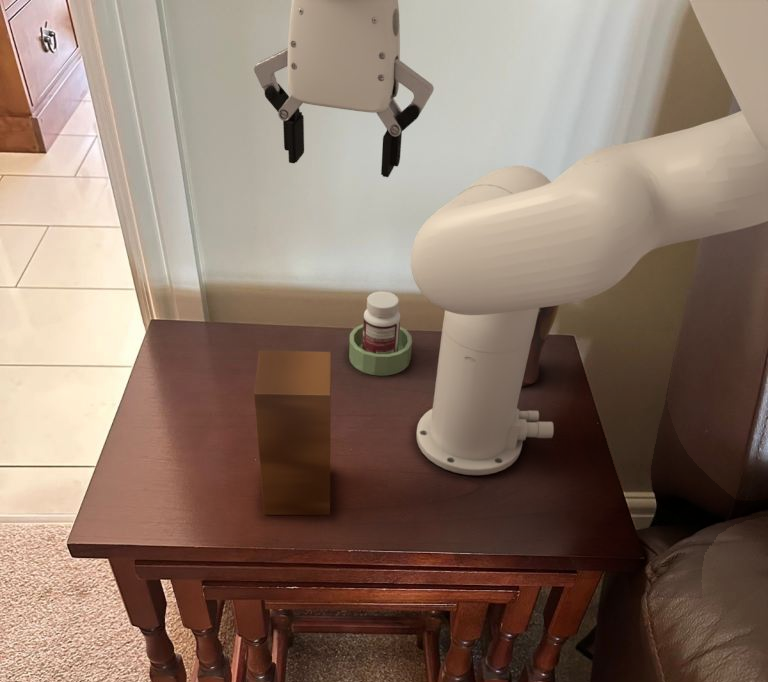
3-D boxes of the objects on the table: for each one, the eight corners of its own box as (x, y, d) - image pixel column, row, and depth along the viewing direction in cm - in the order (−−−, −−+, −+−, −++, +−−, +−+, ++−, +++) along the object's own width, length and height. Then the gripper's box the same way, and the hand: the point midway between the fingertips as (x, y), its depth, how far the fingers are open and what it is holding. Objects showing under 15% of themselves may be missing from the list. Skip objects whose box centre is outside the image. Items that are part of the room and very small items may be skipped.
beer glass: (540, 392, 100) (565, 288, 90) (486, 384, 101) (505, 279, 90) (543, 362, 105) (567, 259, 95) (492, 354, 106) (510, 251, 95)
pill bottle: (371, 341, 106) (374, 285, 100) (403, 351, 105) (408, 295, 99) (355, 358, 103) (357, 302, 97) (388, 369, 102) (391, 313, 96)
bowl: (408, 341, 107) (409, 322, 105) (412, 376, 102) (414, 357, 99) (348, 339, 107) (349, 320, 105) (349, 375, 101) (349, 355, 99)
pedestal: (330, 471, 88) (330, 351, 77) (329, 515, 83) (330, 394, 72) (268, 470, 88) (259, 350, 76) (264, 515, 83) (253, 393, 71)
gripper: (450, -34, 69) (431, 163, 81) (263, -55, 71) (272, 140, 83) (435, -15, 64) (417, 192, 76) (234, -39, 66) (248, 167, 78)
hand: (341, 165), depth 79 cm, fingers open, 9 cm apart
